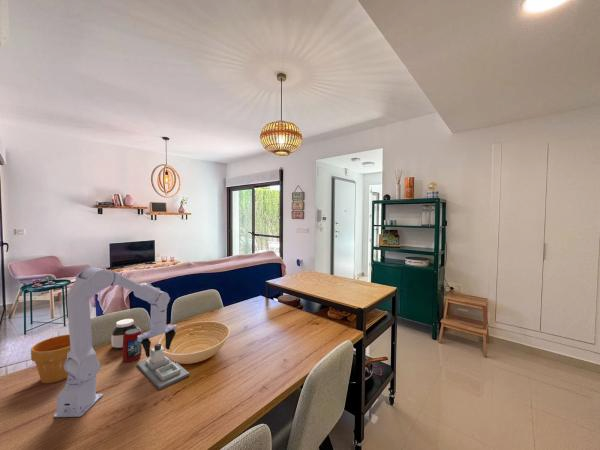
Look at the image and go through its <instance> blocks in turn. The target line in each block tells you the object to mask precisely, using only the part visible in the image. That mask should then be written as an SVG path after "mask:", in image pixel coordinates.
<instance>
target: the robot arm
mask: <svg viewBox="0 0 600 450" xmlns="http://www.w3.org/2000/svg"><path fill="white" fill-rule="evenodd" d="M114 286H119V287H122V288H124V289H127V290H129V291H132V292H133V295H134V297H136V298H139V299H140V300H142V301H144V302H147V303H148V304H150V324H149V325H150V328H149V329H150V330H148V331H146V332H142V334H141V335H138V341H139V342H141V343H142V347H143V349H144V353H145V356H146V357H147V358H150V353H151V343H152V342H151V340H150V339H151V338H154V337H156V336H157V337H158V336H162V335H163V334H164V335H165V346H164V347H165V350H170V349H171V345H172V342H173V339H174V337H175V336H176V331H177V330H178V325H177V324H171V325H167V308H168V304H169V302H170V300H171V297H170V295H169V293H168V292H166V291H162V290H161V288H160V287H154V286H153V285H152V283H150V282H140V283H139V282H137V281H135V280H132V279H130V278H129V277H128V276H125V275H123V274H121V273H118V272H115V271H111V270H110V269H106V268H105V269H103V268H99V267H97V266H88V267H85V268H84V269H82V271H80V272H78V274H76V275H75V281H74V283H73V284H72V287H71V288H70V290H69V292H68V293H67V294H66V304H67V306H66V307H67V319H68V333H69V335H70V351H69V352H68V353H67V360H66V362H65V364H64V370H65V371H66V372H68V377H67V378H66V382H65V383H66V384H65V385H64V387H63V388H62V389H61V390H60V392H58V394H57V396H56V413H54V414H53V417H54V418H70V417H71V418H73V417H75V418H78V417H82V416H83V415H84V414H85V413H86V412H87V411H88V410H89V409H91V407H92V406H93V405H95V403H97V402H98V401H99V400H100V399H101V397H103V393H97V374H98V373H99V371H100V370H101V362H100V361H99V359H98V357H97V354H96V351H95V349H94V348H93V347H94V346H93V340H92V339H93V338H92V326H91V325H92V322H91V310H90V309H91V308H90V300H91V299H92V298H93V297H94V296H95V295H97V294H98V293H100V292H102V291H104V290H105V289H108V288H109V287H114Z"/></svg>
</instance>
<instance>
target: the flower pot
mask: <svg viewBox="0 0 600 450" xmlns="http://www.w3.org/2000/svg"><path fill="white" fill-rule="evenodd" d="M69 351H70V335H69V334H63V335H58V336H53V337H50V338H47V339H44V340H42V341H39V342H37V343H35V344H34V345H33V346H32V347H31V348H30V358H31V361H32V362H34V363H35V365H36V368H37V372H38V376H39V378H40V381H41V383H42V384H53V383H57V382H60V381H63V380H65V379H67V377H68V372H66V371H65V370H64V364H65V362H66V360H67V353H68V352H69Z"/></svg>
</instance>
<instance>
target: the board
mask: <svg viewBox="0 0 600 450" xmlns="http://www.w3.org/2000/svg"><path fill="white" fill-rule="evenodd" d="M136 366H137V367H138V368H139V370H141V372H142V373H143V374H144V375H145V376H146V377H147V378H148V379H149V381H151V382H152V384H153V385H154V386H155V387H156V388H157V389H158V390H162V389H164V388H167V387H168V386H170V385H172V384H174V383H176V382H178V381H181V380H183V379H185V378H187V377H189V376H190V372H189V371H188V370H187V369H185V368H184V367H183V366H181V365H180V363H178V362H177V363H175V362H173V361H171V360H170V359H169V358H168V357H166V356H165V360H164V361H162V362H159V363H157V364H154V365H153V364H152V363H151V362H150V357H148V358H147V359H145V360H142V361H139V362H137V363H136Z"/></svg>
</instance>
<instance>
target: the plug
mask: <svg viewBox="0 0 600 450" xmlns="http://www.w3.org/2000/svg"><path fill="white" fill-rule="evenodd" d="M162 351H165V352H166V347H164V346H162V344H161V343H157V344H154V346H153V348H150V357H149V358H150V362H151V363H152V364H153V365H154V364H157V363H159V362H162V361H164V360H165V354H164V353H163V352H162Z"/></svg>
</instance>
